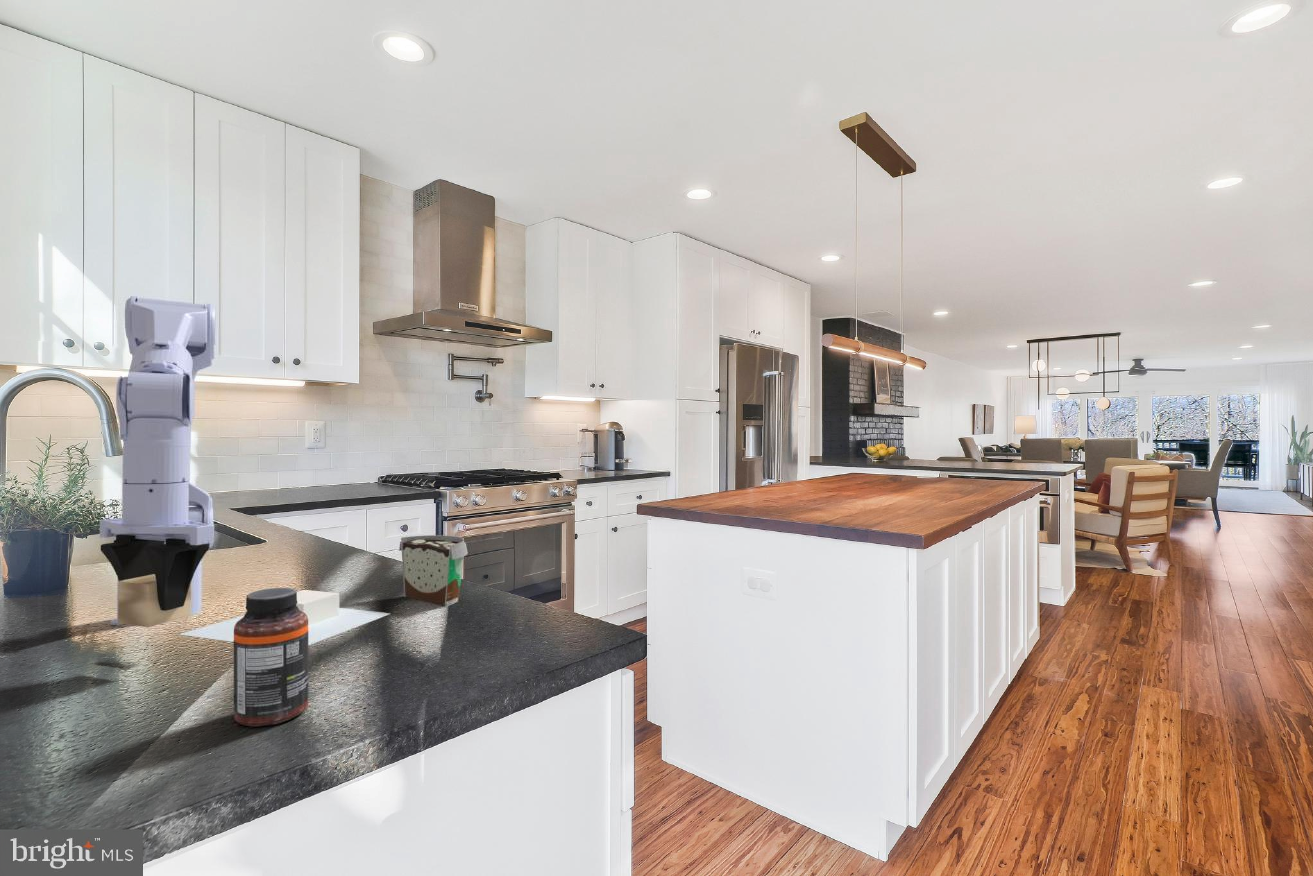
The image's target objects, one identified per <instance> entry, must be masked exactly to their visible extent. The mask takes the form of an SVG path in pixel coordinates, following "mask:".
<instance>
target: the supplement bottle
mask: <svg viewBox="0 0 1313 876" xmlns="http://www.w3.org/2000/svg"><path fill="white" fill-rule="evenodd" d="M297 592H298V591H297V590H296V589H295V588H292V587H272V588H265V589H259V590H256V591H252V592H250V593H248V594H247V595H246V599H245V603H246V604H245V609H246V612H245V614H244V617H243V618H241V619H240V620H239V621H238V622H237V623H236V624H235V627H234V642H232V643H233V645H232V646H233V647H232V648H233V711H234V712H233V714H234V715H233V716H234V721H235V722H237V724H240V725H241V726H247V727H253V728H254V727H265V726H267V727H268V726H272V725H277V724H280V723H284V722H286V721H289V720H292V719H293V718H295V717H297V716H299V715H300V714H303V712H305V710H306V709H307V707H308V705H309V645H308V617H307V615H306V614H305V613H304V612H303V611H300V610H299V609H298V607H297V606H296V604H297Z"/></svg>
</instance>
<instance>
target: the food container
mask: <svg viewBox="0 0 1313 876" xmlns="http://www.w3.org/2000/svg"><path fill="white" fill-rule="evenodd" d="M398 551H401V561H402V564H401V565H402V579H403V581H402V582H403V596H404V598H408V599H413V600H418V601H423V602H426V603H431V604H434V605H439V606H444V607H448V606H452V605H454V604H455V603H458V601H459V600H460V593H461V591H460V590H461V582H462V581H461V580H462V570H463V559H464V557H466V556H467V555H468V554H469V552H468V549H467V543H466V542H465V539H464V538H463V537H460V536H454V535H441V534H438V535H437V534H433V535H432V534H431V535H412V536H405V537H401V538H400V541H399V549H398Z"/></svg>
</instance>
